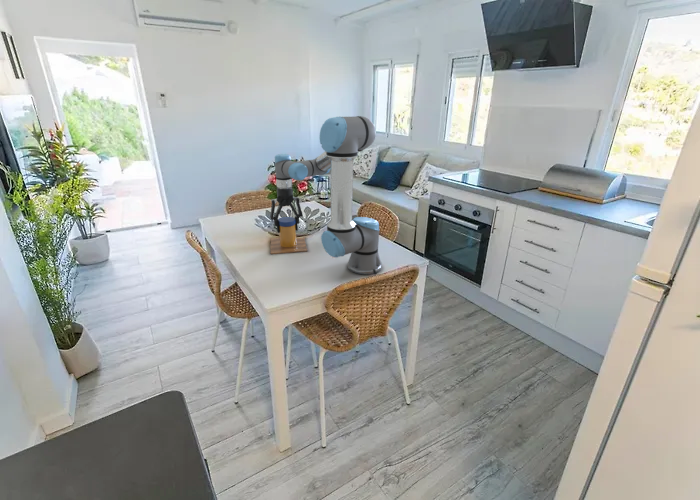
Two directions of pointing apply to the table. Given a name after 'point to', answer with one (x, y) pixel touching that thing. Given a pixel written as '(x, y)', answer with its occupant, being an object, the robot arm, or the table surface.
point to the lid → (287, 221)
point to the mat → (278, 249)
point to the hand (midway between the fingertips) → (287, 230)
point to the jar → (287, 236)
